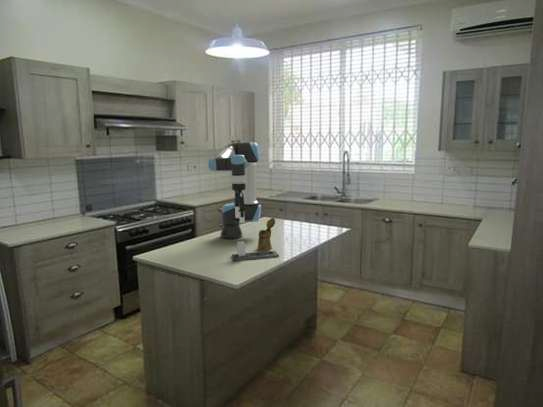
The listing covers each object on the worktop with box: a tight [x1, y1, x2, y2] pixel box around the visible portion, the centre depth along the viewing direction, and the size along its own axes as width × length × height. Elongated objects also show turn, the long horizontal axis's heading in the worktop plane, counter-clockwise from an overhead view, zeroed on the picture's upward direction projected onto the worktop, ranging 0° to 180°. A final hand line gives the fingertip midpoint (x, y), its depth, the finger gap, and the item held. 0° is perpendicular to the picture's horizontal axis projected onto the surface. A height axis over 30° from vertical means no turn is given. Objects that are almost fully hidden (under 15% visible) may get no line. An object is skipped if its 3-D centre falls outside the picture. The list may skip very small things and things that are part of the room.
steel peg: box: [236, 240, 246, 258], centre depth 222 cm, size 4×4×9 cm
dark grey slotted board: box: [231, 250, 280, 262], centre depth 224 cm, size 9×26×1 cm, turn 104°
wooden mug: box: [256, 217, 276, 251], centre depth 241 cm, size 9×14×18 cm, turn 139°
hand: (239, 220), depth 220 cm, fingers open, 13 cm apart
